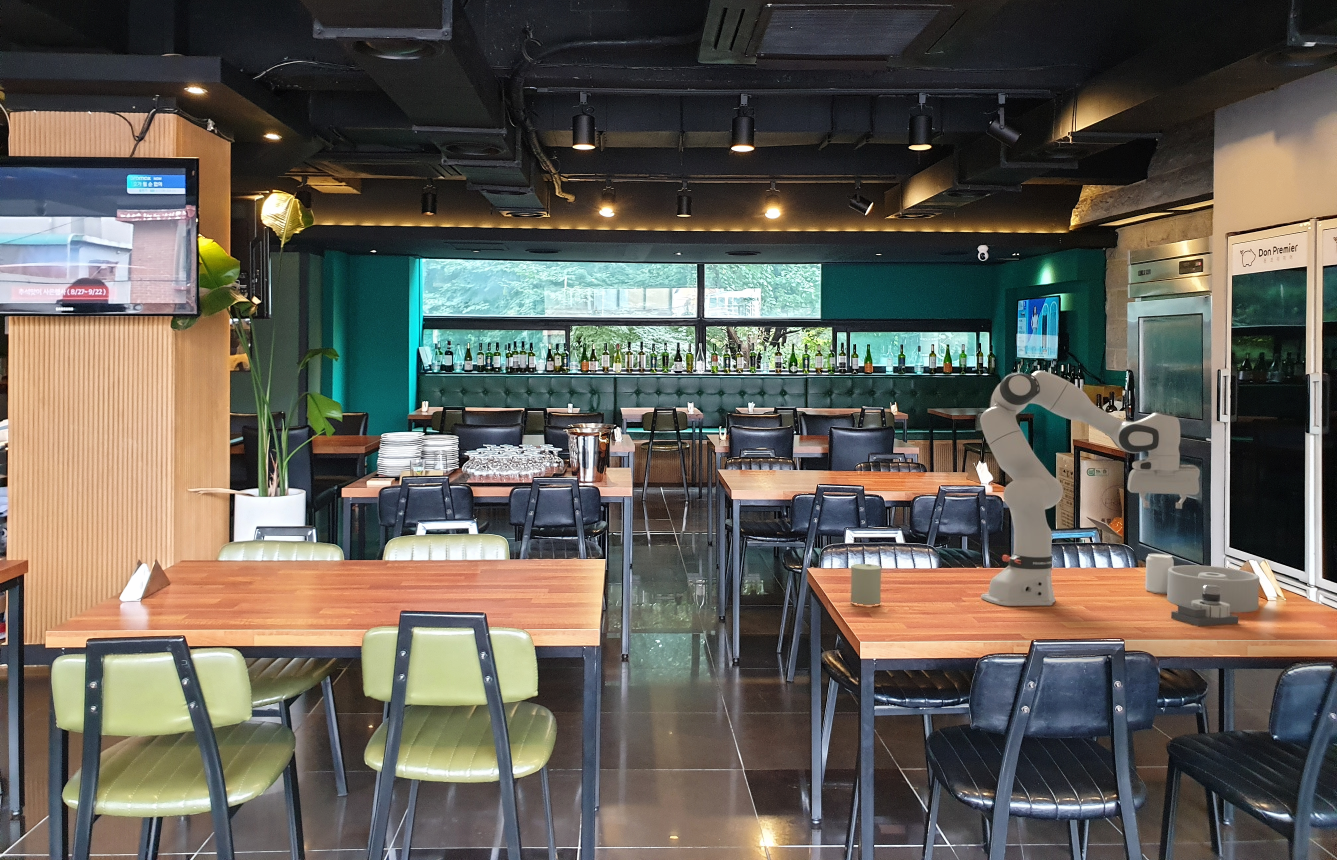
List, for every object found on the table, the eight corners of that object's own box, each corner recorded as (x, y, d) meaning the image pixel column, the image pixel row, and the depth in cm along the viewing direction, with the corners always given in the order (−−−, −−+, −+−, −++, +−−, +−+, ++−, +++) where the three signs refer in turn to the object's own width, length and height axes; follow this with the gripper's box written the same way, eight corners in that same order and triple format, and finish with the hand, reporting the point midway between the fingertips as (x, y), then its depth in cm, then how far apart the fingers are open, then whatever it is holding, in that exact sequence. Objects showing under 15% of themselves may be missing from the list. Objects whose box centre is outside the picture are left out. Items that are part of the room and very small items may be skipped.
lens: (1218, 616, 284) (1220, 587, 283) (1200, 614, 286) (1201, 585, 286) (1220, 613, 287) (1221, 585, 287) (1202, 611, 290) (1203, 583, 290)
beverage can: (1175, 594, 323) (1177, 558, 322) (1148, 593, 324) (1150, 557, 324) (1168, 589, 330) (1169, 554, 330) (1142, 588, 332) (1143, 552, 332)
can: (883, 602, 307) (884, 564, 307) (877, 608, 299) (877, 568, 298) (854, 599, 311) (855, 561, 311) (846, 605, 303) (847, 566, 302)
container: (1266, 616, 294) (1267, 582, 294) (1172, 609, 303) (1173, 576, 302) (1249, 599, 318) (1250, 568, 317) (1162, 593, 326) (1163, 562, 326)
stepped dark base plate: (1198, 626, 280) (1198, 608, 280) (1171, 618, 290) (1171, 601, 289) (1238, 623, 284) (1238, 606, 284) (1210, 615, 294) (1210, 598, 293)
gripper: (1197, 464, 314) (1195, 508, 314) (1127, 462, 319) (1125, 505, 319) (1202, 465, 308) (1201, 510, 308) (1131, 464, 312) (1130, 507, 313)
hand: (1162, 507), depth 314 cm, fingers open, 8 cm apart
